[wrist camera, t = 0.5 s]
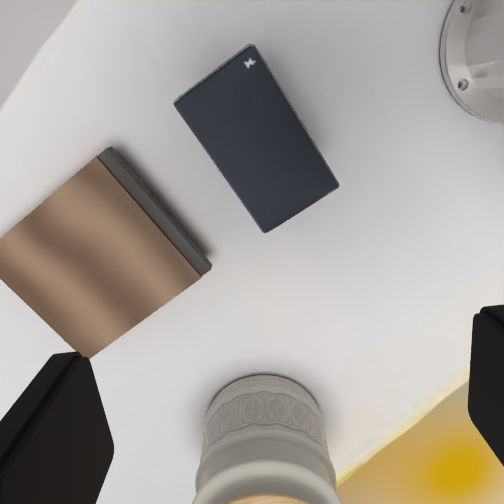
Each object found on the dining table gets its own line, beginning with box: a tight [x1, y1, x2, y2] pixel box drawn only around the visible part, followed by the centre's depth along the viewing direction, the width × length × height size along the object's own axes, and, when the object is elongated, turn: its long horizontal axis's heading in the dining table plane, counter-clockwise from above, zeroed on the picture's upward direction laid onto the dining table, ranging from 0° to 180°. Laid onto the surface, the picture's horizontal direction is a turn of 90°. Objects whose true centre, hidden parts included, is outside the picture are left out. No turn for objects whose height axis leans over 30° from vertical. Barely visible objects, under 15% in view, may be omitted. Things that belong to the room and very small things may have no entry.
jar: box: [192, 375, 342, 504], centre depth 38 cm, size 13×13×18 cm
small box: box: [173, 44, 339, 233], centre depth 31 cm, size 11×6×10 cm, turn 34°
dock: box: [0, 147, 212, 359], centre depth 38 cm, size 15×13×4 cm
